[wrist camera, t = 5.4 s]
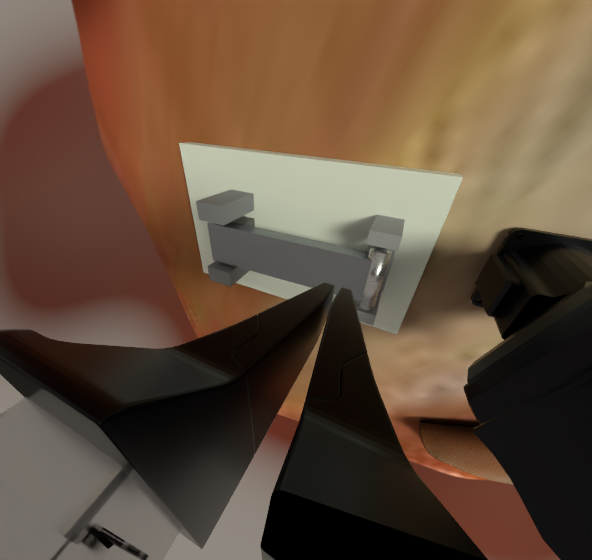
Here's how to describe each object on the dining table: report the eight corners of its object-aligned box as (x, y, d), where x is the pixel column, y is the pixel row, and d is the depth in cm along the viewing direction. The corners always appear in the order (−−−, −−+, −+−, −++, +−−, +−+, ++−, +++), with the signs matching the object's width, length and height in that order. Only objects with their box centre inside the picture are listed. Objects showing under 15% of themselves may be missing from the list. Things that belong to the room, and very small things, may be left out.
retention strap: (392, 248, 16) (390, 256, 15) (375, 301, 19) (373, 312, 18) (216, 211, 21) (205, 216, 20) (222, 259, 23) (213, 266, 22)
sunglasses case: (439, 460, 32) (433, 497, 26) (424, 405, 33) (415, 430, 27) (664, 493, 21) (729, 565, 16) (630, 411, 23) (679, 452, 17)
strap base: (459, 173, 16) (477, 192, 11) (398, 324, 24) (393, 372, 19) (191, 142, 23) (133, 146, 18) (211, 267, 31) (175, 291, 26)
